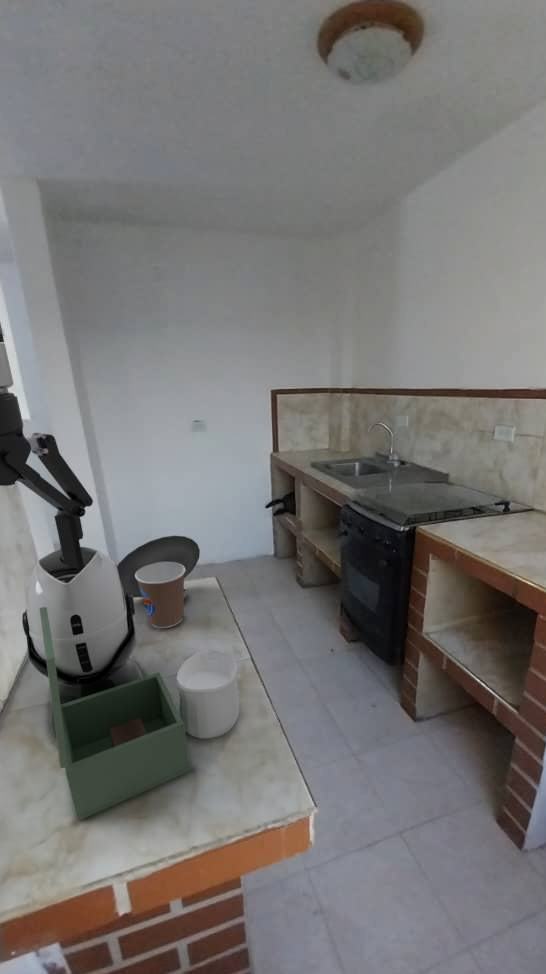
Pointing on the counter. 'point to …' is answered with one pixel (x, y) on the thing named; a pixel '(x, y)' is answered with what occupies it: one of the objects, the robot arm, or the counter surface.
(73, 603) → the kettle
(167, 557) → the plate
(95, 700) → the chest
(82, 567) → the robot arm
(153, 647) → the counter surface
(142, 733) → the block
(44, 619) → the lid
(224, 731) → the cup
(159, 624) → the coffee cup
